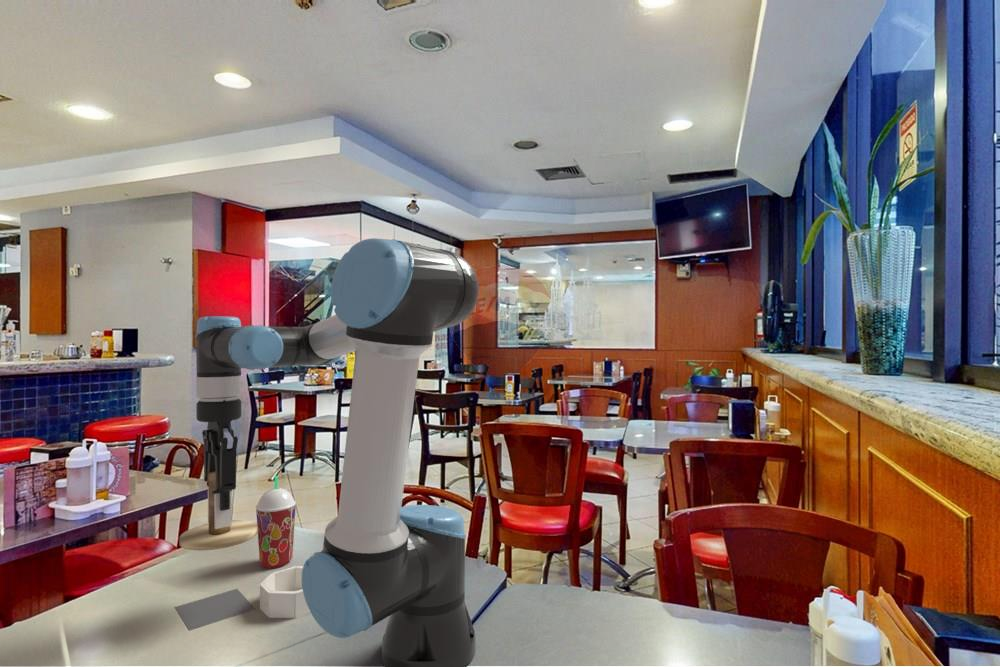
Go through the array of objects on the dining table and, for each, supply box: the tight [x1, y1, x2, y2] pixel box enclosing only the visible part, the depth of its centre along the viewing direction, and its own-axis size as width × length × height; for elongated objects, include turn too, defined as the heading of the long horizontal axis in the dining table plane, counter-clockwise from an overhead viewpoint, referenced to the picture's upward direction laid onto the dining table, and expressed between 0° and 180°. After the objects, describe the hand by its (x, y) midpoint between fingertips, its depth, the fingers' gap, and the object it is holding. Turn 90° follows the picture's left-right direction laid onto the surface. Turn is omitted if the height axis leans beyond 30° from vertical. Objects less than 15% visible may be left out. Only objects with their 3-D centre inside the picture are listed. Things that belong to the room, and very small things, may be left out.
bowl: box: [259, 565, 311, 619], centre depth 104 cm, size 12×12×5 cm
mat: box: [174, 588, 256, 631], centre depth 102 cm, size 11×11×1 cm
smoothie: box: [255, 475, 297, 569], centre depth 122 cm, size 8×8×20 cm
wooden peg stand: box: [178, 471, 258, 552], centre depth 102 cm, size 13×13×12 cm
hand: (219, 523), depth 102 cm, fingers closed on wooden peg stand, 3 cm apart
